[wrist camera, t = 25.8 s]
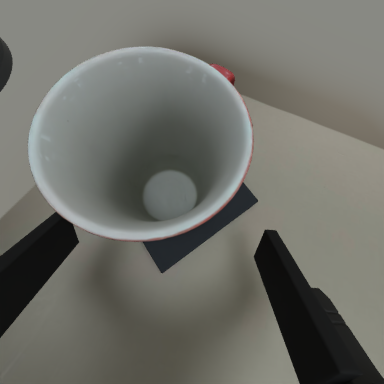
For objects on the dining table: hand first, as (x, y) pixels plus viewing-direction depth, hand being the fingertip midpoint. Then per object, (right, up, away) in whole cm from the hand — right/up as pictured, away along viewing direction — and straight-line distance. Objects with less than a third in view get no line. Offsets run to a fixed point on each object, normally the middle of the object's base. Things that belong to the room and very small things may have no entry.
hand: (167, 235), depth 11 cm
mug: (0, +4, +9) cm, 9 cm away
